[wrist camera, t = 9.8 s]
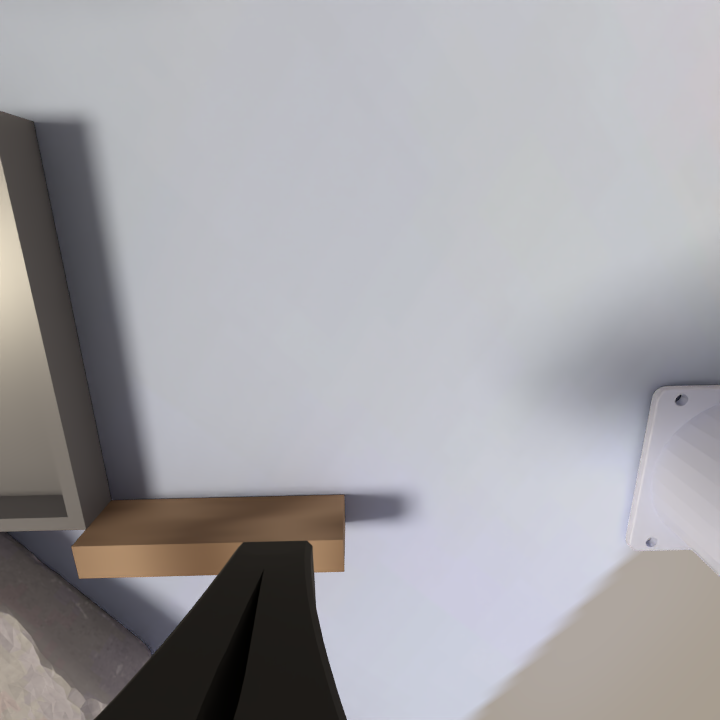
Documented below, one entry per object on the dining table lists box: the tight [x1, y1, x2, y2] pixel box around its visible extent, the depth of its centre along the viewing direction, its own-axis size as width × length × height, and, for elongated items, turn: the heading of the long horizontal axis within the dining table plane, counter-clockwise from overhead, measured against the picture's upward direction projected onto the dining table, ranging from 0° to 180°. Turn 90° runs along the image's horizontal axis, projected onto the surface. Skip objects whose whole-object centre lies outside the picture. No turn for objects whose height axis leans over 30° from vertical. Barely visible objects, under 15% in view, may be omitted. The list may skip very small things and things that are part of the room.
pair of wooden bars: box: [71, 495, 345, 579], centre depth 21 cm, size 19×18×3 cm
